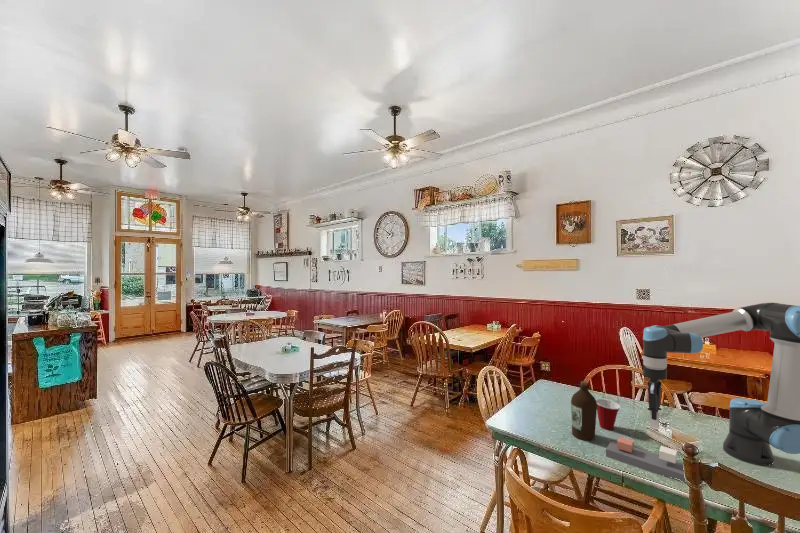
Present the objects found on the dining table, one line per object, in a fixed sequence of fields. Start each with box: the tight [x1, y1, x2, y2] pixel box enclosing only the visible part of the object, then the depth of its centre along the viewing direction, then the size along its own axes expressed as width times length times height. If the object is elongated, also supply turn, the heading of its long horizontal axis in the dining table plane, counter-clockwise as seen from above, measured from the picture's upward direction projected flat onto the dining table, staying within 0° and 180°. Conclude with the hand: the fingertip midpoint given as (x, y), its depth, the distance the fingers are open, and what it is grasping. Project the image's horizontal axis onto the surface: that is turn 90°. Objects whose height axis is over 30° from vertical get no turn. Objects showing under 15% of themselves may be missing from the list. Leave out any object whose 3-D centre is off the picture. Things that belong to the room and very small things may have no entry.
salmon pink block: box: [616, 436, 635, 453], centre depth 146 cm, size 5×5×3 cm
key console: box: [605, 439, 686, 484], centre depth 141 cm, size 26×10×3 cm, turn 47°
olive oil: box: [570, 380, 598, 442], centre depth 163 cm, size 11×11×25 cm
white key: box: [658, 445, 678, 463], centre depth 136 cm, size 5×5×3 cm
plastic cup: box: [595, 398, 621, 431], centre depth 171 cm, size 11×11×12 cm
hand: (654, 426), depth 139 cm, fingers closed
